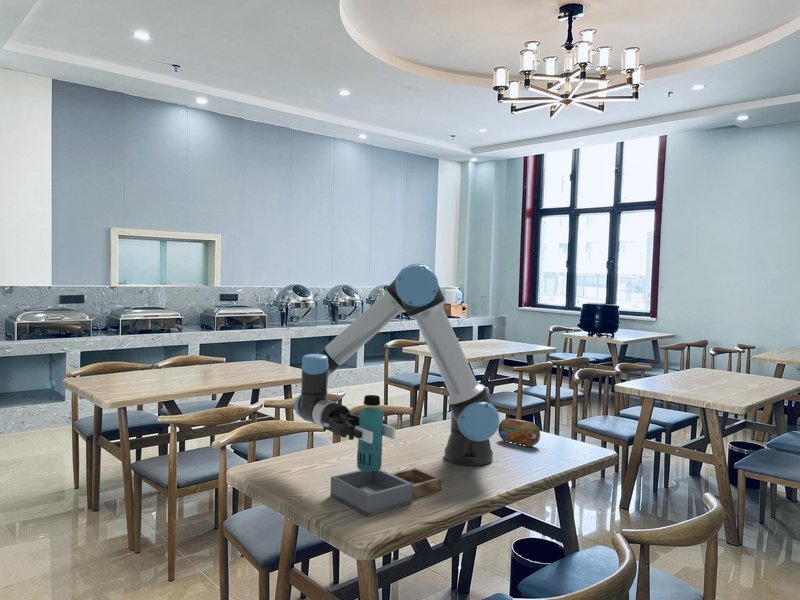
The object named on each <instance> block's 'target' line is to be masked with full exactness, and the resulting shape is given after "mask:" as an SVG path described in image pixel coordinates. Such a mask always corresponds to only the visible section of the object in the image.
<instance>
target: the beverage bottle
mask: <svg viewBox="0 0 800 600" xmlns="http://www.w3.org/2000/svg"><path fill="white" fill-rule="evenodd" d="M380 399H381V398H380V396H379V395H375V394H367V395H364V398H363V405H365V406H369V407H364V408H362V409H361V410H360V411H359V412H358V415H359V425H358V426H359V427H361V428H364V429H366V430H369V431H371V432H373V443H368V442H365V441H363V440H360V439H358V438H357V445H356V447H357V452H356V454H357V455H356V466H357V470H362V471H367V472H373V471H378V470H380V469H381V468H382V464H383V460H382V458H383V457H382V456H383V435H382V433H383V420H384V416H385V414H384V412H383V411H382V410H381V409H380V408H378V407H376V406H380V404H381V402H380V401H381V400H380ZM371 406H372V407H371ZM374 406H375V407H374ZM381 470H382V469H381Z"/></svg>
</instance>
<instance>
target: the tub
mask: <svg viewBox="0 0 800 600" xmlns="http://www.w3.org/2000/svg"><path fill="white" fill-rule="evenodd" d="M413 485H414V484H413V483H412V482H410V481H406V480H403V479H401V478H399V477H397V476H394V475H392V474H391V473H390V472H387V471H386V470H383V469H380V470H378V471H373V472H367V471H362V470H359V469H357V470H352V471H351V472H350V471H349V472H346V473H345V472H344V473H341V474H338V475H333V476H332V475H331V476H330V494H329V495H330V497H331V498H334V500H337V501H339V502H341V503H342V504H343V505H346V506H347V507H349V508H350V509H353V510H354V511H356V512H358V513H359V514H360V515H363V516H365V517H366V518H369V517H371V516H374V515H378V514H381V513H384V512H388V511H391V509H392V510H394V508H395V509H397V507H398V508H401V507H405V506H407V505H411V504H412V503H413V498H412V487H413Z"/></svg>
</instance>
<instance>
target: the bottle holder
mask: <svg viewBox="0 0 800 600" xmlns="http://www.w3.org/2000/svg"><path fill="white" fill-rule="evenodd" d="M390 474H392V475H394V476H397V477H399V478H401V479H403V480H406V481H408V482H410V481H417V483H415V484H413V487H412V499H414V498H418V497H420V496H425V495H428V494H431V493H435V492H437V491H441V490H442V485H443V484H442V481H443V480H442V478H441V477H439V476H437V475H434V474H432V473H429V472H427V471H425V470H423V469H419V468H418V467H415V466H414V467H411V468H407V469H402V470H399V471H395V472H391V473H390Z"/></svg>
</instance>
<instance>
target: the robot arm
mask: <svg viewBox="0 0 800 600" xmlns="http://www.w3.org/2000/svg"><path fill="white" fill-rule="evenodd" d="M383 293H384V294H382V295H381V296H380V297H379V298H378V299H377V300H376V301H375V302H373V304H372V305H370V306H369V307H368V308H367V309H366V310H365V311H364V312H362V313H361V315H359V316H358V317H357V318H355V320H354V321H352V322H351V323H350V324H349V325H348V326H346V327H345V329H343V330H342V331H341V332H340V333H339V334H338V335H336V337H334V339H332V340H331V341H330V342H329V343H328V344H327V345H326V346H324V348H323V349H321V350H320V351H319V352H318V353H308V354H305V355H303V357H302V359H301V360H302V362H301V363H302V364H301V365H300V367H301V391H300V394H299V396H298V397H296V400H295V402H294V406H293V407H294V411H295V414H296V415H297V416H299V417H300V418H301V419H303V420H304V421H307V422H309V423H310V422H311V423H313V424H315V425H317V426H320V427H321V428H323V430H326V431H330V432H331V433H333V434H334V435H335V434H336V435H337V436H340V438H341V437H342V438H346V437H347V436H348V440H350V441H353V440H354V438H355V439H357V440H358V439H360V440H363V441H365V442H368V443H373V432H371V431H369V430H366V429H364V428H361V427H359V426H358V425H359V414H355V413H352V412H350V410H349V409H348V407H347V406H346V405H343V404H341V403H339V402H335V401H333V400H330V399H328V383H329V381H328V379H329V377H330V376H331V375H332V374H333V373H334V372H335V371H336V370H338V368H340V367H341V365H343V364H344V363H345V362H346V361H347V360H348V359H350V358H351V357H352V356H353V355H354V354H355V353H357V351H359V349H361V348H362V347H363V346H364V345H365V344H367V343H368V342H369V341H371V339H373V337H375V336H376V334H378V333H379V332H380V331H382V330H383V328H384V327H385V326H387V325H388V324H389V323H390V322H391V321H393V319H395V318H396V317H397V316H398V315H399V314H401V313H407V316H408V318H410V319H412V320H414V321H416V323H417V325H418V327H419V330H420V332H421V335H422V336H423V338H424V339H423V340H424V341H425V342H426V345H427V348H428V351H430V353H431V356H432V358H433V361H434V362H435V365H436V367H437V370H438V372H439V373H440V376H441V378H442V380H443V382H444V385H445V386H446V387H445V388H446V389H447V391H448V393H449V397H448V399H447V403H448V406H449V408H450V411H451V412H450V413H451V414H450V415H451V417H450V434H449V438H448V440H447V444H446V446H445V448H444V458H445V460H446V461H448V462H451V463H453V464H457V465H463V466H484V465H487V464H490V463H492V461H493V457H494V453H493V449H492V448H491V442H490V438H492V437H493V436H494V435H495V433H497V431H498V428H499V424H500V416H499V412H498V409H497V408H496V407H495V405H493V402H492V400H491V398H490V396H491V394H490V388H489V387H487V386H485V385H484V384H482V383H478V381H477V379H476V377H475V376H474V373H473V371H472V369H471V366H470V364H469V362H468V359H467V358H466V356H465V353H464V351H463V349H462V346H461V344H460V342H459V340H458V337H457V335H456V333H455V332H454V329H453V327H452V325H451V323H450V320H449V318H448V316H447V313H446V311H445V309H444V306H445V304H446V299H445V297H444V294H443V292H442V289H441V287H440V285H439V280H438V277H437V275H436V272H434V271H433V270H432V268H430V267H429V266H427V265H425V264H422V263H411V264H409V265H407V266H405V267H404V268H402V269H401V270H400V271H399V272H398V274H397V275H396V277H395V278H394V279H393V281H392V282H391V283H390V284H389V285H388V286H386V288H384V292H383ZM386 423H387V422H386V420H385V419H383V433H382V437H386V438H388V439H390V440H395V439H396V427H393V426H390V425H388V424H386Z"/></svg>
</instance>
